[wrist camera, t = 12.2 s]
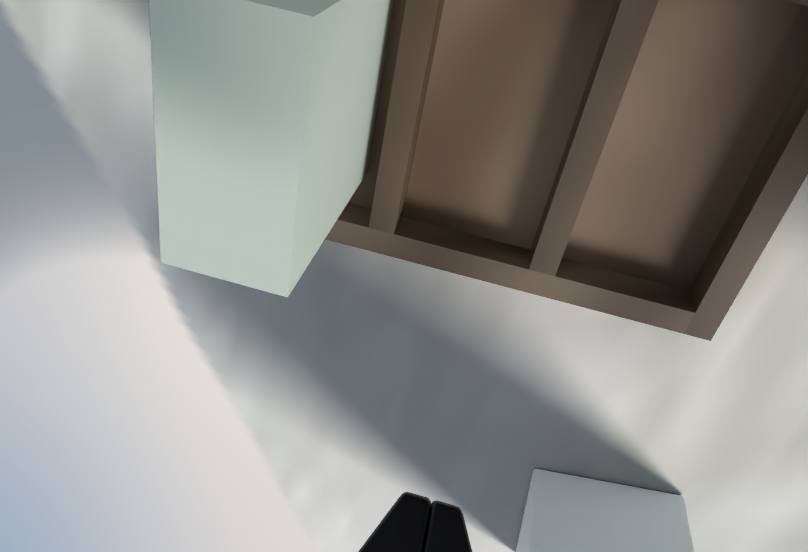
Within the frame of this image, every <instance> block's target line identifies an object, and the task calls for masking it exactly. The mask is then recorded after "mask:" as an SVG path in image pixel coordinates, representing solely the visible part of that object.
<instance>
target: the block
mask: <svg viewBox="0 0 808 552" xmlns="http://www.w3.org/2000/svg"><path fill="white" fill-rule="evenodd" d="M393 6H394V0H149V16H150V38H151V60H152V82H153V103H154V125H155V147H156V169H157V191H158V213H159V235H160V257H161V263H164V264H167V265H171V266H175V267H178V268H182V269H185V270H189V271H193V272H196V273H200V274H204V275H207V276H211V277H215V278H218V279H222V280H226V281H229V282H233V283H237V284H240V285H244V286H247V287H251V288H255V289H258V290H262V291H266V292H269V293H273V294H277V295H280V296H284V297H288V296H289V295H290V293H291V292H292V290H293V288H294V287H295V285H296V284H297V282H298V281H299V279H300V277H301V276H302V274H303V273H304V271H305V270H306V268H307V266H308V265H309V263H310V262H311V260H312V258H313V257H314V255H315V254H316V252H317V251H318V249H319V247H320V246H321V244H322V243H323V241H324V240H325V238H326V236H327V235H328V233H329V232H330V230H331V229H332V227H333V225H334V224H335V222H336V221H337V219H338V217H339V216H340V214H341V213H342V211H343V210H344V208H345V206H346V205H347V203H348V202H349V200H350V199H351V197H352V195H353V194H354V192H355V191H356V189H357V188H358V186H359V184H360V183H361V181H362V180H363V178H364V177H365V175H366V173H367V170H368V164H369V157H370V151H371V145H372V138H373V132H374V126H375V119H376V113H377V107H378V100H379V94H380V88H381V81H382V75H383V69H384V63H385V56H386V50H387V44H388V37H389V31H390V25H391V18H392V12H393Z"/></svg>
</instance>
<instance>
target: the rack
mask: <svg viewBox="0 0 808 552" xmlns="http://www.w3.org/2000/svg"><path fill="white" fill-rule="evenodd" d="M807 174H808V0H394V6H393V12H392V18H391V25H390V31H389V37H388V44H387V50H386V56H385V63H384V69H383V75H382V81H381V88H380V94H379V100H378V107H377V113H376V119H375V126H374V132H373V138H372V145H371V151H370V157H369V164H368V170H367V173H366V175H365V177H364V178H363V180H362V181H361V183H360V184H359V186H358V188H357V189H356V191H355V192H354V194H353V195H352V197H351V199H350V200H349V202H348V203H347V205H346V206H345V208H344V210H343V211H342V213H341V214H340V216H339V217H338V219H337V221H336V222H335V224H334V225H333V227H332V229H331V230H330V232H329V233H328V235H327V236H326V238H325V239H327V240H331V241H334V242H338V243H342V244H346V245H350V246H353V247H357V248H361V249H365V250H369V251H372V252H376V253H380V254H384V255H388V256H391V257H395V258H399V259H403V260H407V261H410V262H414V263H418V264H422V265H425V266H429V267H433V268H437V269H441V270H444V271H448V272H452V273H456V274H460V275H463V276H467V277H471V278H475V279H479V280H482V281H486V282H490V283H494V284H498V285H501V286H505V287H509V288H513V289H516V290H520V291H524V292H528V293H532V294H535V295H539V296H543V297H547V298H551V299H554V300H558V301H562V302H566V303H570V304H573V305H577V306H581V307H585V308H588V309H592V310H596V311H600V312H604V313H607V314H611V315H615V316H619V317H623V318H626V319H630V320H634V321H638V322H642V323H645V324H649V325H653V326H657V327H661V328H664V329H668V330H672V331H676V332H679V333H683V334H687V335H691V336H695V337H698V338H702V339H706V340H710V341H711V339H712V337H713V336H714V334H715V332H716V331H717V329H718V327H719V325H720V324H721V322H722V320H723V319H724V317H725V315H726V313H727V312H728V310H729V308H730V307H731V305H732V303H733V301H734V300H735V298H736V296H737V295H738V293H739V291H740V289H741V288H742V286H743V284H744V283H745V281H746V279H747V277H748V276H749V274H750V272H751V271H752V269H753V267H754V265H755V264H756V262H757V260H758V259H759V257H760V255H761V253H762V252H763V250H764V248H765V247H766V245H767V243H768V241H769V240H770V238H771V236H772V234H773V233H774V231H775V229H776V228H777V226H778V224H779V222H780V221H781V219H782V217H783V216H784V214H785V212H786V210H787V209H788V207H789V205H790V204H791V202H792V200H793V198H794V197H795V195H796V193H797V192H798V190H799V188H800V186H801V185H802V183H803V181H804V180H805V178H806V176H807Z"/></svg>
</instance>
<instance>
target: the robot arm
mask: <svg viewBox="0 0 808 552" xmlns="http://www.w3.org/2000/svg"><path fill="white" fill-rule="evenodd" d="M359 552H472V549H471V545H470V541H469V537H468V533H467V529H466V525H465V521H464V517H463V514H462V511H461V509H460V508H459V507H457V506H454V505H451V504H447V503H444V502H440V501H433V502H432V504H431V501H430V500H429V499H428V498H427V497H423V496H420V495H416V494H413V493H409V492H405V493H403V494H402V495H401V496H400V497H399V499H398V500H397V501H396V503H395V504H394V505H393V506H392V508H391V509H390V510H389V512H388V513H387V514H386V516H385V517H384V518H383V520H382V521H381V522H380V524H379V525H378V526H377V528H376V529H375V530H374V532H373V533H372V534H371V536H370V537H369V538H368V540H367V541H366V542H365V544H364V545H363V546H362V548H361V549H360V550H359Z"/></svg>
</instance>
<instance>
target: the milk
mask: <svg viewBox="0 0 808 552" xmlns="http://www.w3.org/2000/svg"><path fill="white" fill-rule="evenodd" d="M516 552H694V548H693V543H692V538H691V533H690V527H689V522H688V517H687V512H686V506H685V502H684V498H683V496H680V495H675V494H670V493H664V492H659V491H654V490H648V489H643V488H638V487H632V486H627V485H621V484H616V483H611V482H605V481H600V480H594V479H589V478H584V477H578V476H573V475H567V474H562V473H557V472H551V471H546V470H540V469H534V470H533V474H532V478H531V483H530V488H529V492H528V497H527V501H526V506H525V510H524V515H523V520H522V524H521V529H520V533H519V538H518V543H517V547H516Z"/></svg>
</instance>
